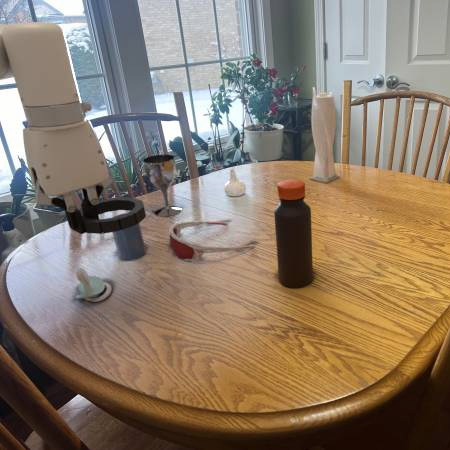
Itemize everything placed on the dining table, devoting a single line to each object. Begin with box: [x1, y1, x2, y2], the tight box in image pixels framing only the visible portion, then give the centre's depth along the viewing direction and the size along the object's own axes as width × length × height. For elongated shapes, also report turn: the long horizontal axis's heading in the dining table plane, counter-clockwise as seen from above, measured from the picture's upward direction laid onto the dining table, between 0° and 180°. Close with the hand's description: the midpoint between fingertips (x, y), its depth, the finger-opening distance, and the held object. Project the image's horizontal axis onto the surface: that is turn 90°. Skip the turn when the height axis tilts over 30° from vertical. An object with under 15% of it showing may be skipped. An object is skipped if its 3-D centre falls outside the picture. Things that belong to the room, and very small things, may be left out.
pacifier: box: [75, 266, 113, 303], centre depth 83 cm, size 7×6×6 cm
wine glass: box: [142, 154, 182, 218], centre depth 117 cm, size 8×8×15 cm
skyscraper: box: [309, 86, 341, 184], centre depth 135 cm, size 8×8×28 cm
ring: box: [78, 196, 146, 235], centre depth 74 cm, size 11×11×2 cm
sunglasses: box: [168, 220, 256, 262], centre depth 101 cm, size 17×17×5 cm
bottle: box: [273, 178, 314, 289], centre depth 82 cm, size 7×7×20 cm
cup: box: [111, 212, 147, 262], centre depth 97 cm, size 6×6×9 cm
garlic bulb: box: [224, 167, 247, 197], centre depth 129 cm, size 6×6×8 cm
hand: (86, 228), depth 71 cm, fingers closed on ring
